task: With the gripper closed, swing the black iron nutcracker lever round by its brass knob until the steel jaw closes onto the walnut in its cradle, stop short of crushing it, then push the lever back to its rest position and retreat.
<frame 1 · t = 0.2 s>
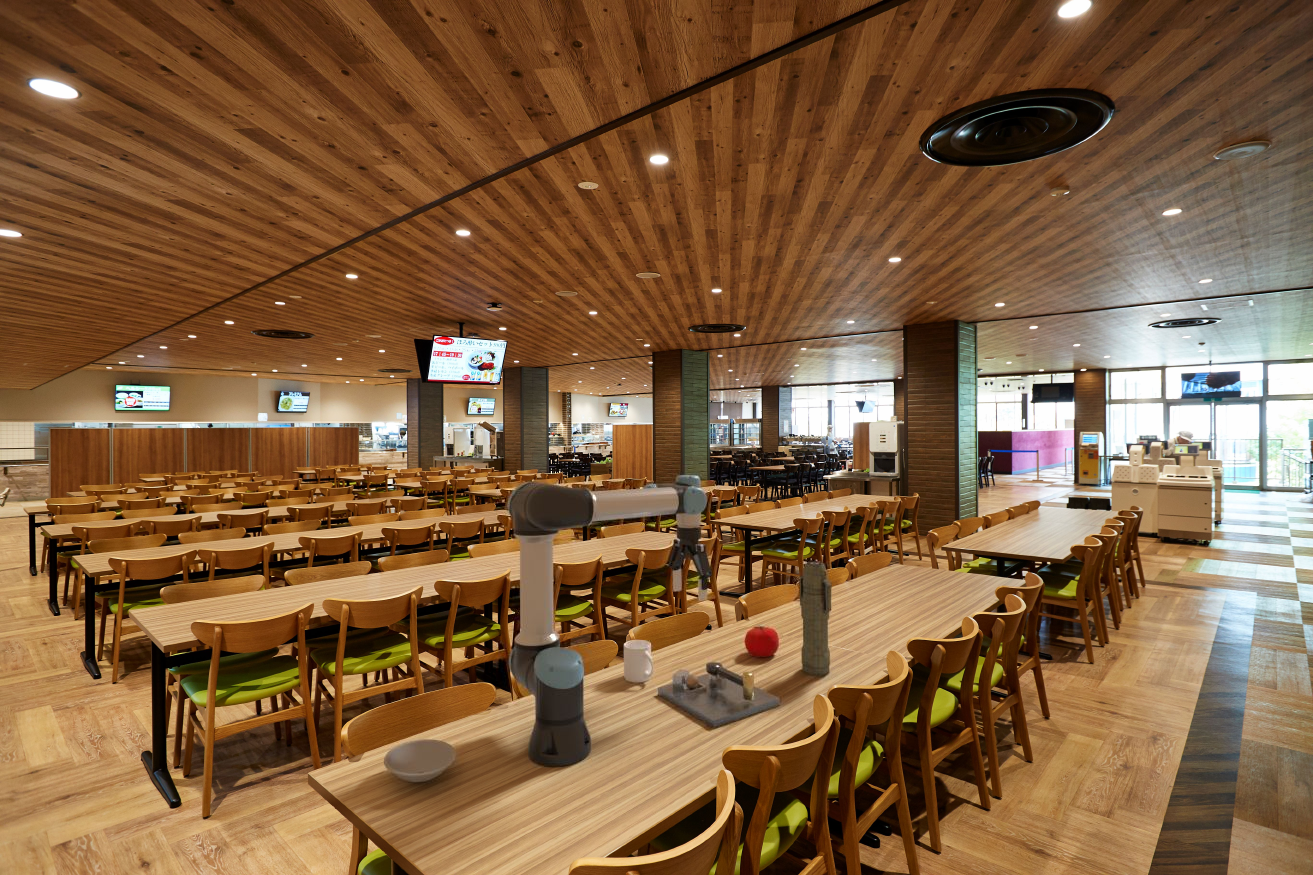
hand: (689, 595, 189), 28 cm above the table, fingers open, 13 cm apart
lever: (729, 677, 179), point 7 cm above the table, hinge at 0.0°
mug: (640, 680, 195), on the table
tomato: (761, 655, 216), on the table
walnut: (692, 688, 182), point 2 cm above the table, touching bench plate
bench plate: (717, 699, 179), on the table
thermos: (816, 671, 200), on the table
dish: (420, 778, 139), on the table
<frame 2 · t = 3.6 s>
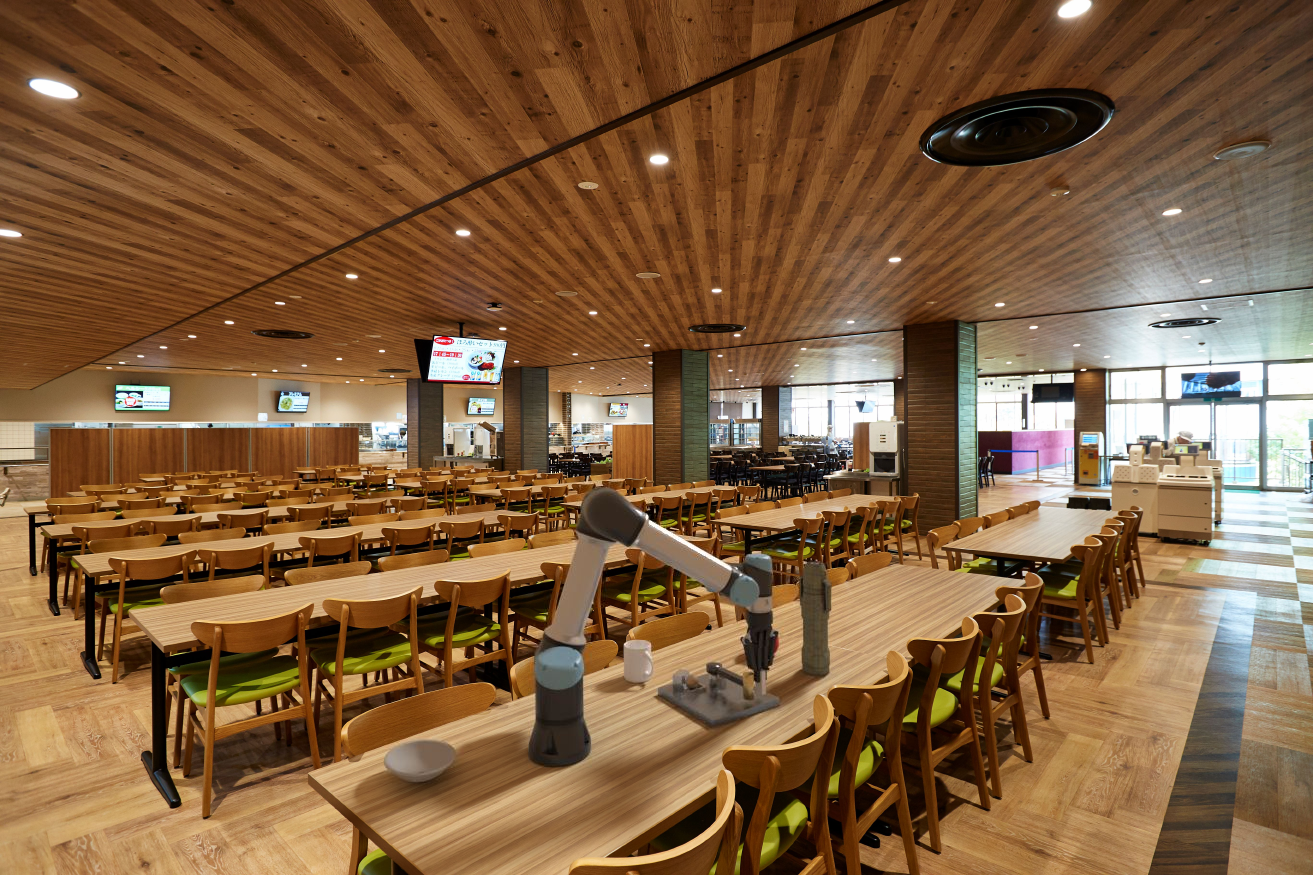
hand: (760, 692, 175), 4 cm above the table, fingers closed
lever: (729, 677, 179), point 7 cm above the table, hinge at 0.0°, touching gripper
everything else where it was.
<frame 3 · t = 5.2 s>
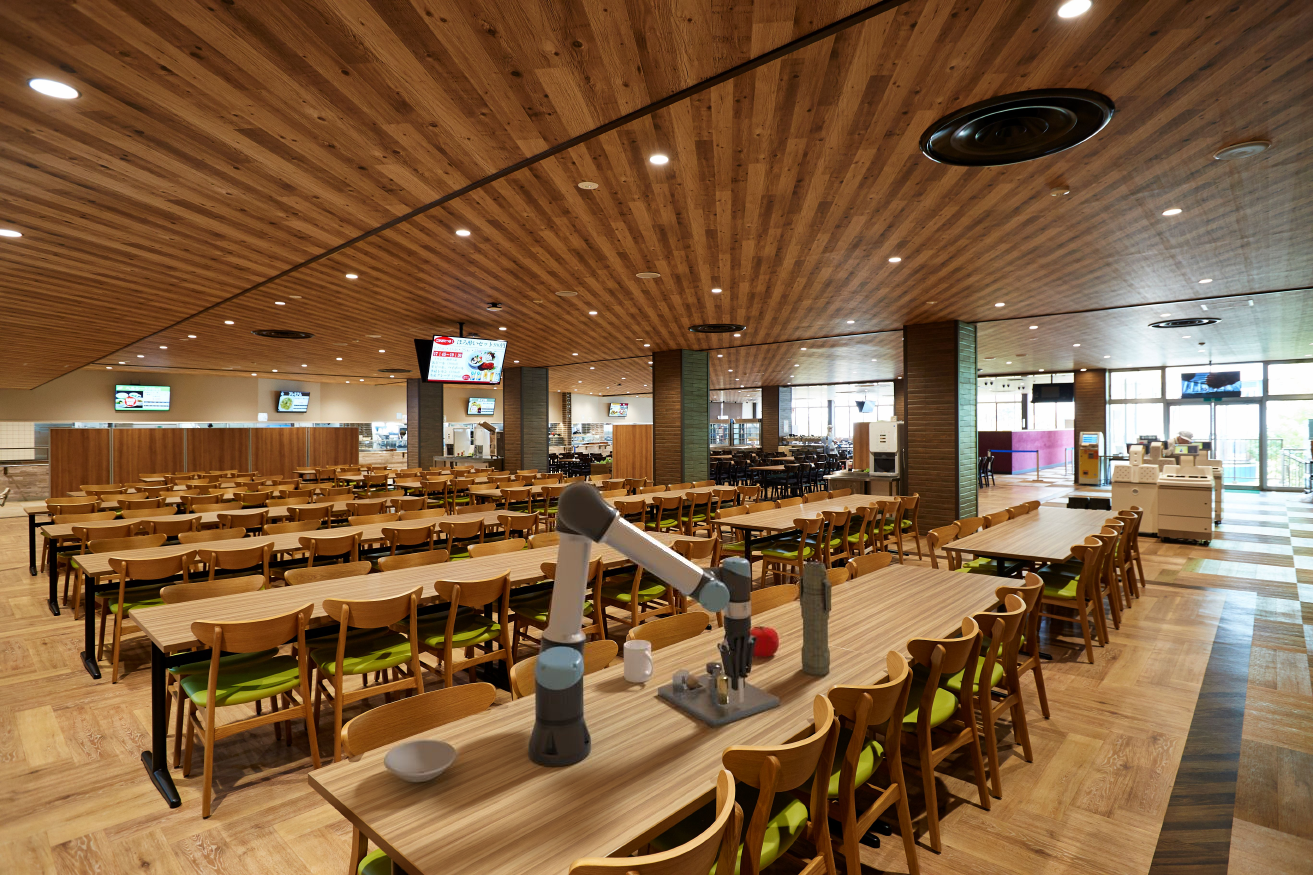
hand: (738, 700, 170), 3 cm above the table, fingers closed
lever: (717, 678, 178), point 7 cm above the table, hinge at 30.2°, touching gripper
everything else where it was.
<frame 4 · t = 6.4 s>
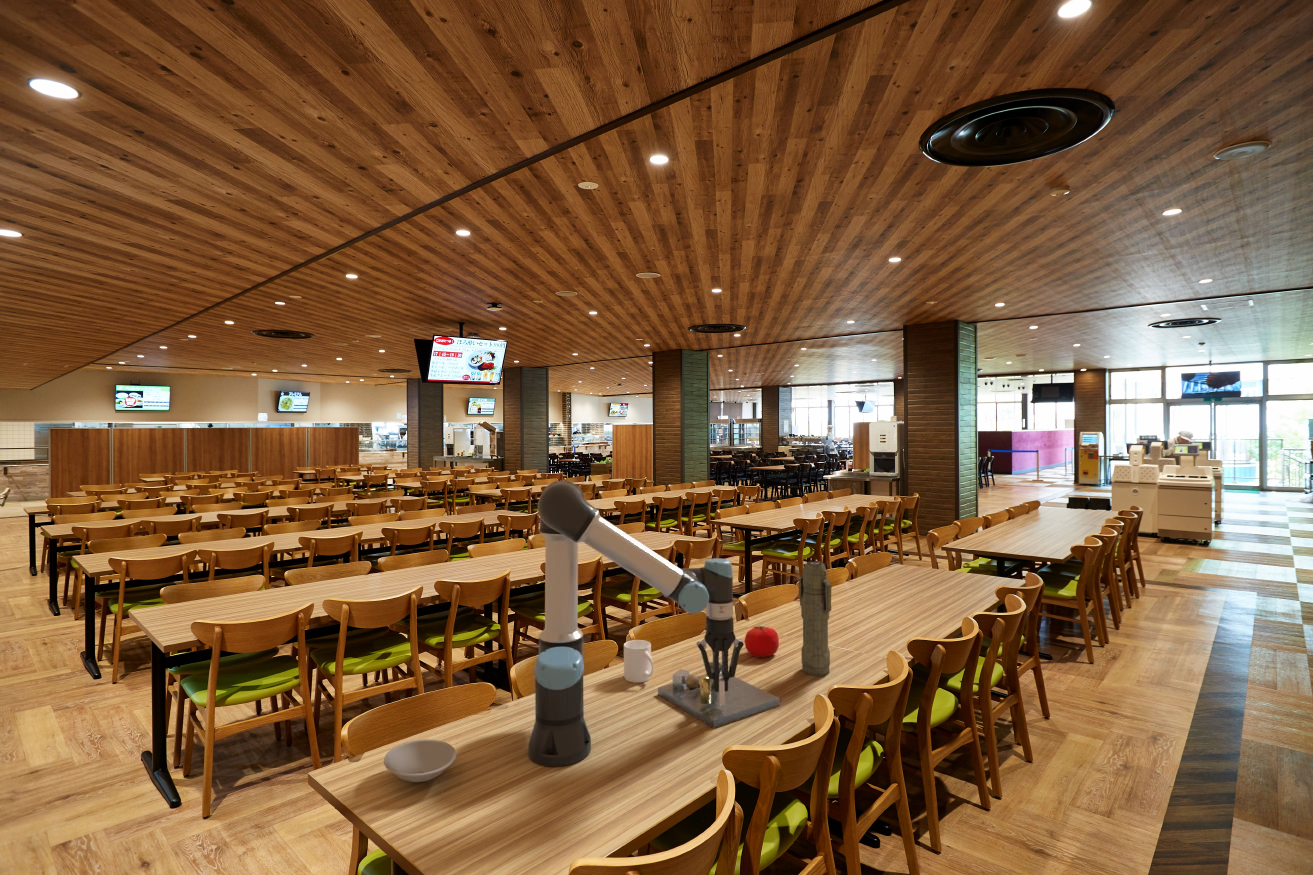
hand: (721, 702, 169), 3 cm above the table, fingers closed
lever: (709, 678, 178), point 7 cm above the table, hinge at 48.6°, touching gripper
everything else where it was.
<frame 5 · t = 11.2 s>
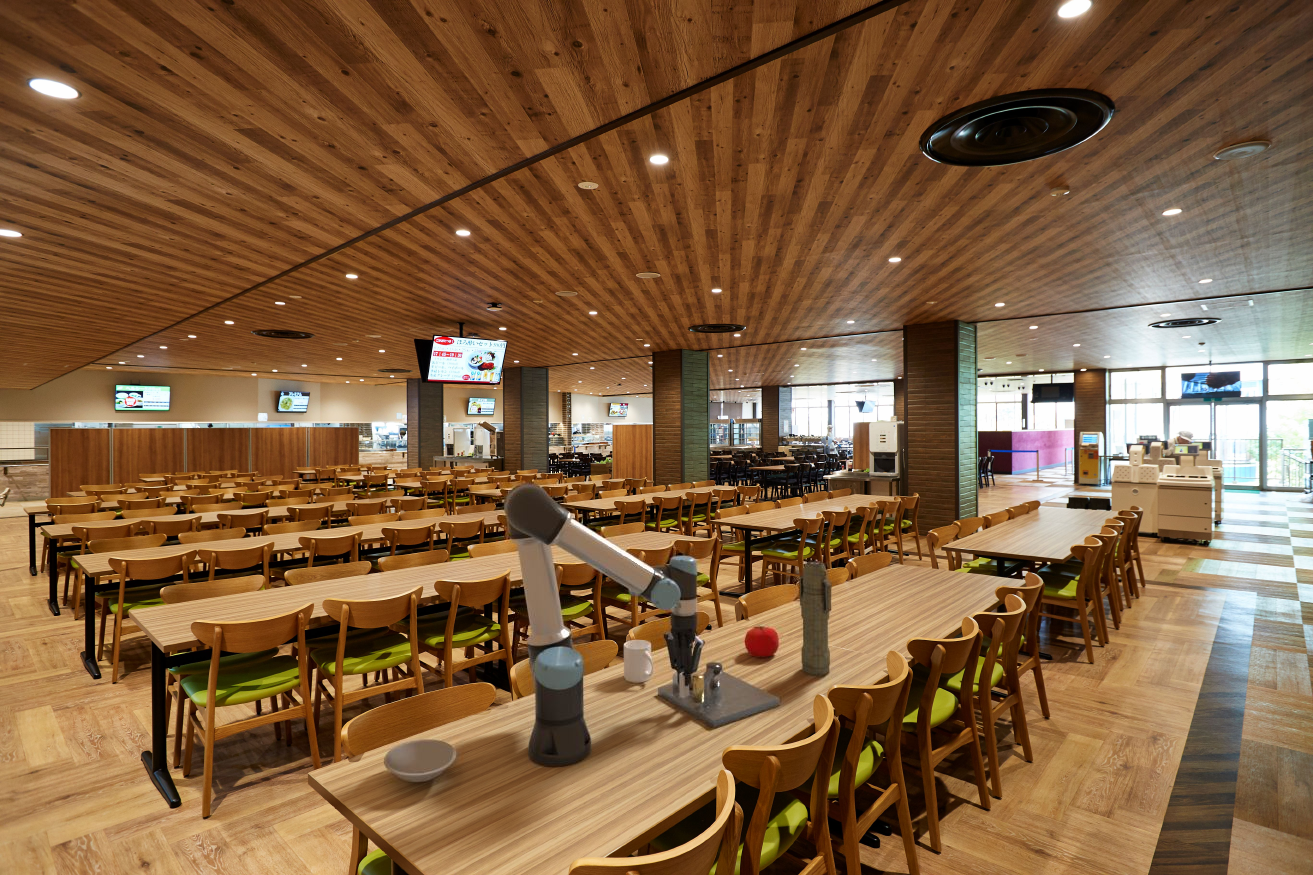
hand: (684, 695, 174), 3 cm above the table, fingers closed
lever: (706, 678, 179), point 7 cm above the table, hinge at 56.1°, touching gripper
everything else where it was.
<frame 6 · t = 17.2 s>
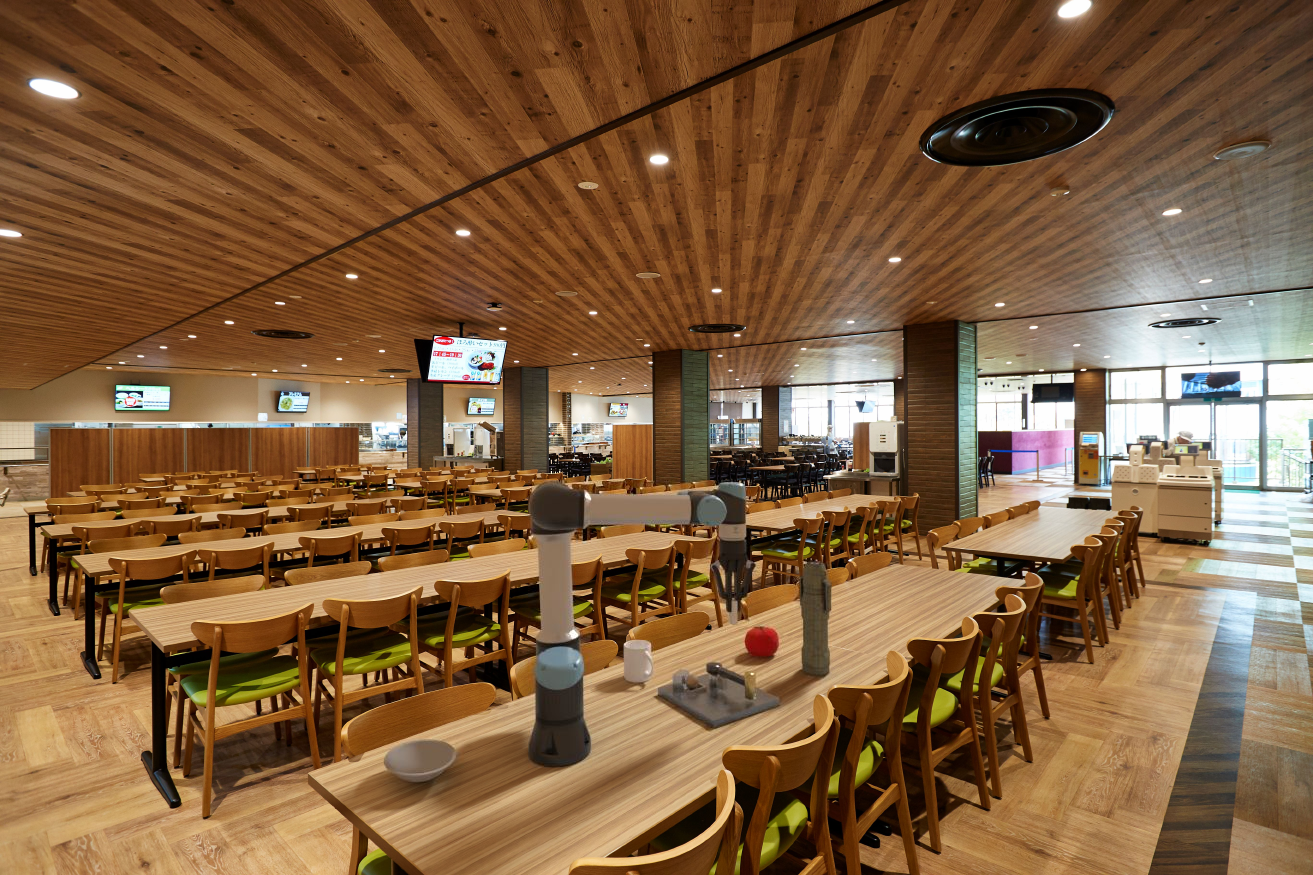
hand: (733, 623, 172), 24 cm above the table, fingers closed
lever: (730, 676, 179), point 7 cm above the table, hinge at -2.6°
everything else where it was.
at the end: lever at -3° (first picture: +0°); walnut 0.0 cm from the target spot, point 2.0 cm above the table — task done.
